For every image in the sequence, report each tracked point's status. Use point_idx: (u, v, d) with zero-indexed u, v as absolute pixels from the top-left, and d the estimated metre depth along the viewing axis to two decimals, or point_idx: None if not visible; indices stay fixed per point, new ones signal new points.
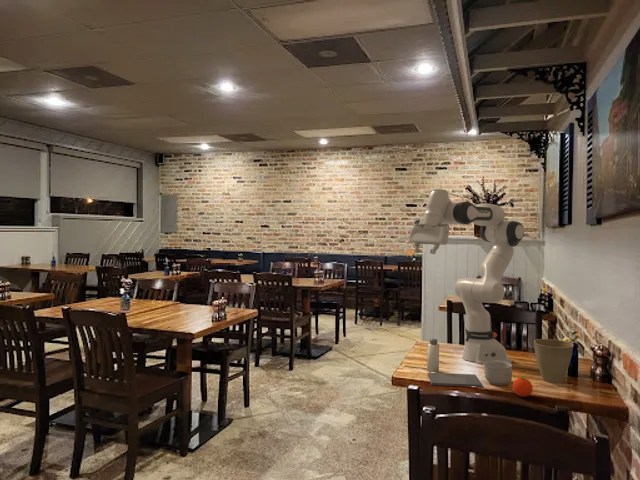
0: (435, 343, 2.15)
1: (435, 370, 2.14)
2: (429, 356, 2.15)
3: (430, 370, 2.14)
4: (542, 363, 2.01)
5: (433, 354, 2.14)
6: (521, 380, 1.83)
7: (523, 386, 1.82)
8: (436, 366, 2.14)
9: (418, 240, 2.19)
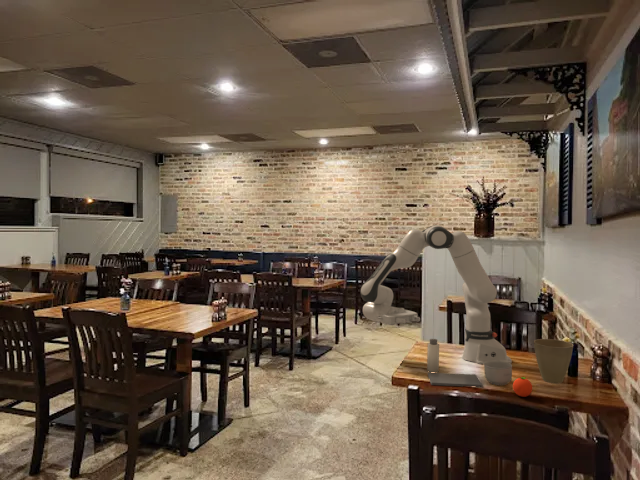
0: (435, 343, 2.15)
1: (435, 370, 2.14)
2: (429, 356, 2.15)
3: (430, 370, 2.14)
4: (542, 363, 2.01)
5: (433, 353, 2.14)
6: (521, 380, 1.83)
7: (523, 386, 1.82)
8: (436, 366, 2.14)
9: (408, 321, 2.31)
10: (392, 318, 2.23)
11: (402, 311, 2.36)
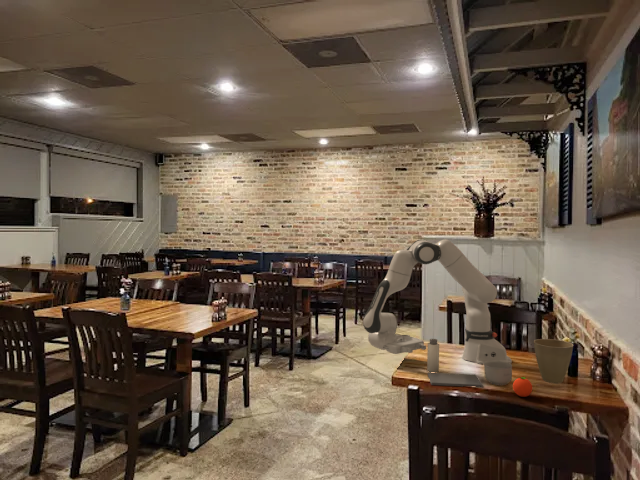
0: (435, 343, 2.15)
1: (435, 370, 2.14)
2: (429, 356, 2.15)
3: (430, 370, 2.14)
4: (542, 363, 2.01)
5: (433, 353, 2.14)
6: (521, 380, 1.83)
7: (523, 386, 1.82)
8: (436, 366, 2.14)
9: (414, 349, 2.29)
10: (398, 348, 2.21)
11: (408, 339, 2.34)
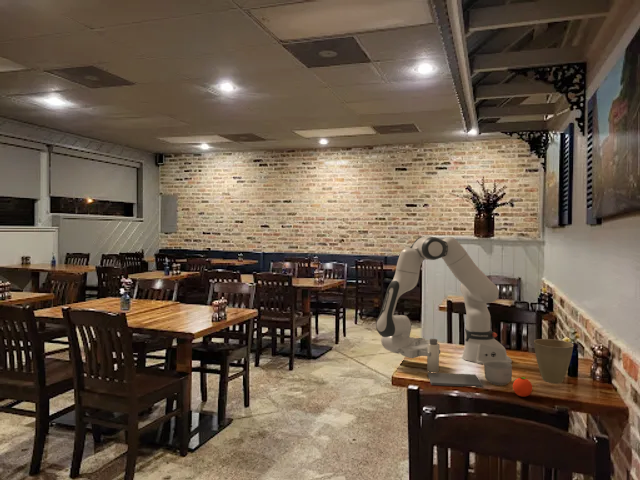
0: (435, 343, 2.15)
1: (435, 370, 2.14)
2: (429, 356, 2.15)
3: (430, 370, 2.14)
4: (542, 363, 2.01)
5: (433, 353, 2.14)
6: (522, 380, 1.83)
7: (523, 386, 1.82)
8: (436, 366, 2.14)
9: None
10: (413, 352, 2.14)
11: (423, 342, 2.27)
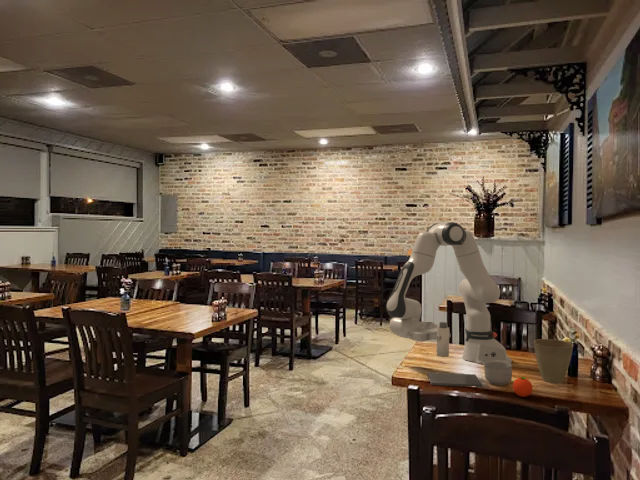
0: (445, 326, 2.08)
1: (445, 354, 2.07)
2: (439, 340, 2.08)
3: (440, 354, 2.07)
4: (542, 363, 2.01)
5: (442, 337, 2.07)
6: (521, 380, 1.83)
7: (523, 386, 1.82)
8: (446, 350, 2.07)
9: None
10: (423, 335, 2.07)
11: (432, 326, 2.20)
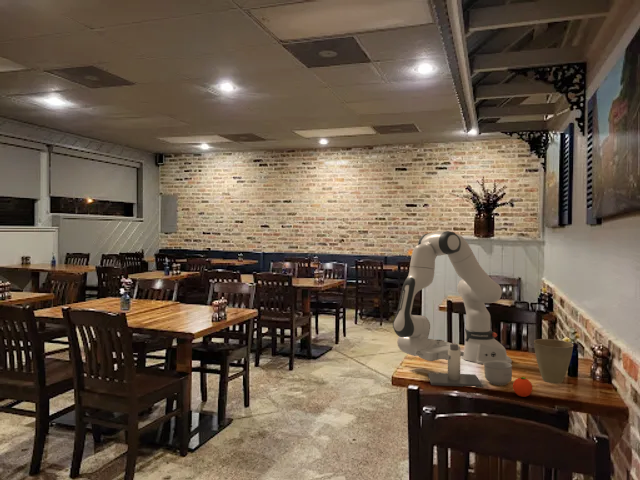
0: (456, 348, 2.01)
1: (456, 377, 2.00)
2: (450, 362, 2.01)
3: (451, 377, 2.01)
4: (542, 363, 2.01)
5: (454, 360, 2.00)
6: (521, 380, 1.83)
7: (523, 386, 1.82)
8: (457, 373, 2.00)
9: None
10: (433, 354, 2.00)
11: (442, 344, 2.13)
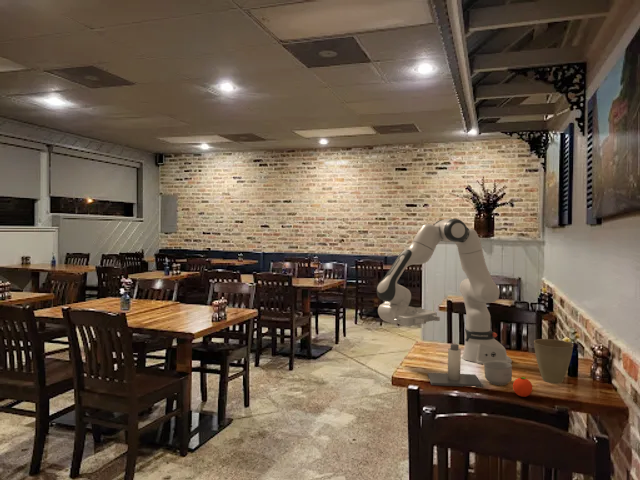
0: (456, 349, 2.01)
1: (456, 377, 2.00)
2: (450, 362, 2.01)
3: (451, 377, 2.01)
4: (542, 363, 2.01)
5: (454, 360, 2.00)
6: (522, 380, 1.83)
7: (523, 386, 1.82)
8: (457, 373, 2.00)
9: (427, 321, 2.18)
10: (410, 319, 2.10)
11: (420, 311, 2.23)
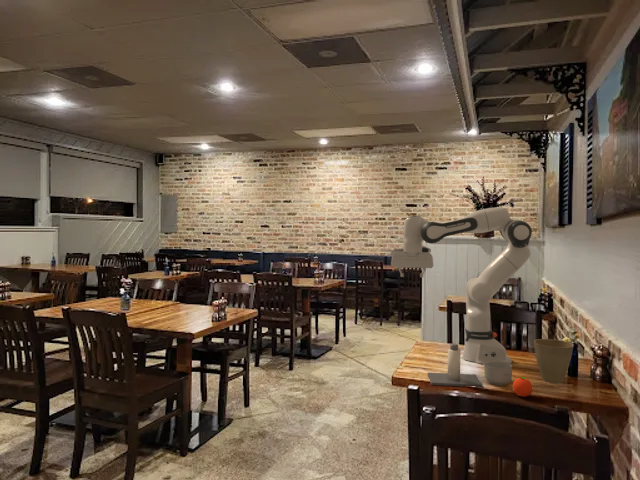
0: (456, 348, 2.01)
1: (456, 377, 2.00)
2: (450, 362, 2.01)
3: (451, 377, 2.01)
4: (542, 363, 2.01)
5: (454, 360, 2.00)
6: (522, 380, 1.83)
7: (523, 386, 1.82)
8: (457, 373, 2.00)
9: None
10: None
11: (423, 255, 2.37)
